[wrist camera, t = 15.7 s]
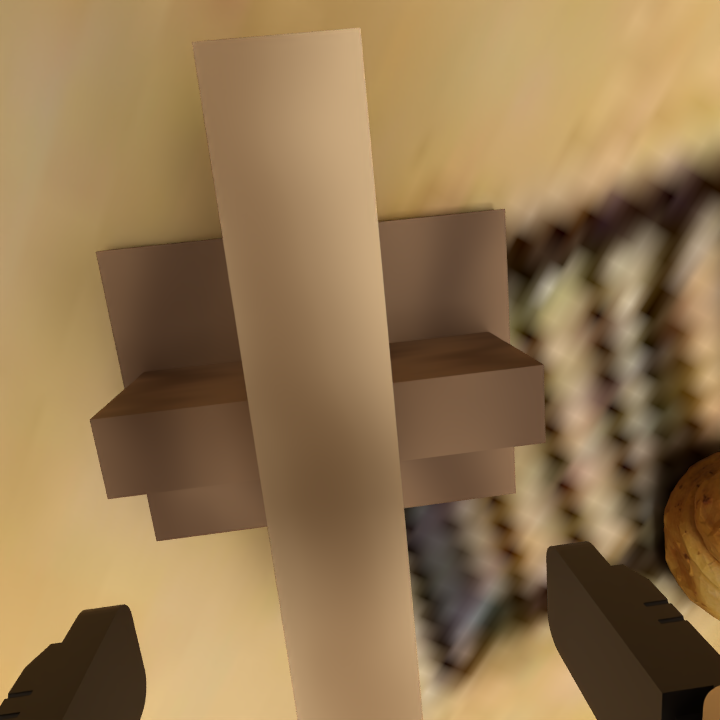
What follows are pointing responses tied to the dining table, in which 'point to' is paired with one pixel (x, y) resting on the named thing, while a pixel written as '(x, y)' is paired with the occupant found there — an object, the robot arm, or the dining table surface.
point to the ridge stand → (228, 390)
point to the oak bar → (316, 360)
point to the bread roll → (696, 533)
